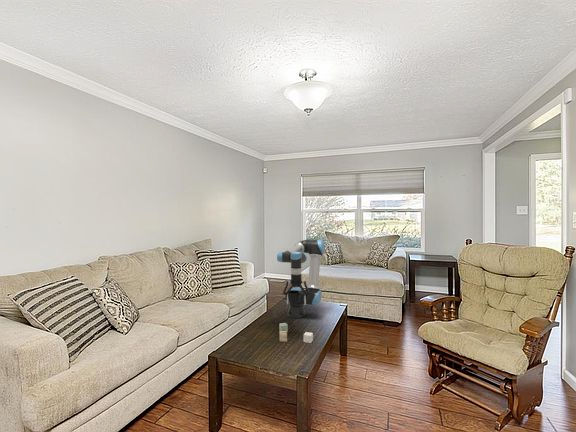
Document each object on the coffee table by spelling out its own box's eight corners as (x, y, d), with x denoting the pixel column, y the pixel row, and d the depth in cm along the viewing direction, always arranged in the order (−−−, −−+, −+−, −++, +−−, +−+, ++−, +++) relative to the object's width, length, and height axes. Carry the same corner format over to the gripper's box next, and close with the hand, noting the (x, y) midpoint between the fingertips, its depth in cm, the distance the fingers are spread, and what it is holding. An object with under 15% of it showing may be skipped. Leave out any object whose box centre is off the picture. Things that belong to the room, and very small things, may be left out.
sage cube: (279, 330, 219) (279, 323, 219) (285, 329, 221) (285, 322, 221) (281, 332, 215) (281, 326, 215) (287, 332, 216) (287, 325, 216)
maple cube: (279, 338, 205) (279, 331, 205) (286, 338, 205) (286, 331, 205) (279, 341, 200) (279, 334, 200) (287, 341, 200) (287, 334, 200)
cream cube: (305, 339, 204) (305, 331, 204) (312, 340, 202) (312, 332, 202) (303, 342, 199) (303, 334, 199) (310, 343, 197) (310, 335, 197)
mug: (301, 308, 206) (301, 294, 206) (286, 305, 211) (286, 292, 211) (306, 304, 213) (306, 291, 213) (291, 302, 219) (291, 289, 219)
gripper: (278, 274, 210) (278, 305, 210) (312, 275, 207) (313, 306, 207) (280, 272, 217) (280, 302, 218) (313, 273, 214) (313, 303, 215)
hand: (296, 304), depth 212 cm, fingers closed on mug, 12 cm apart
